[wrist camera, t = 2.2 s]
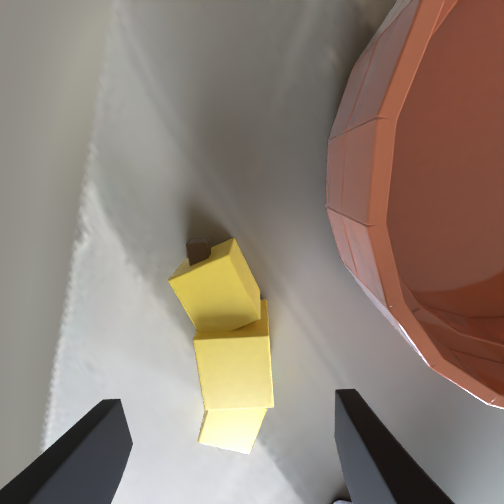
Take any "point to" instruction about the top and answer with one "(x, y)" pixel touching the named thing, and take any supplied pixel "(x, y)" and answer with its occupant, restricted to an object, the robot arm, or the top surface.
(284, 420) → the top surface
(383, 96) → the bowl
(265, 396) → the yellow banana
